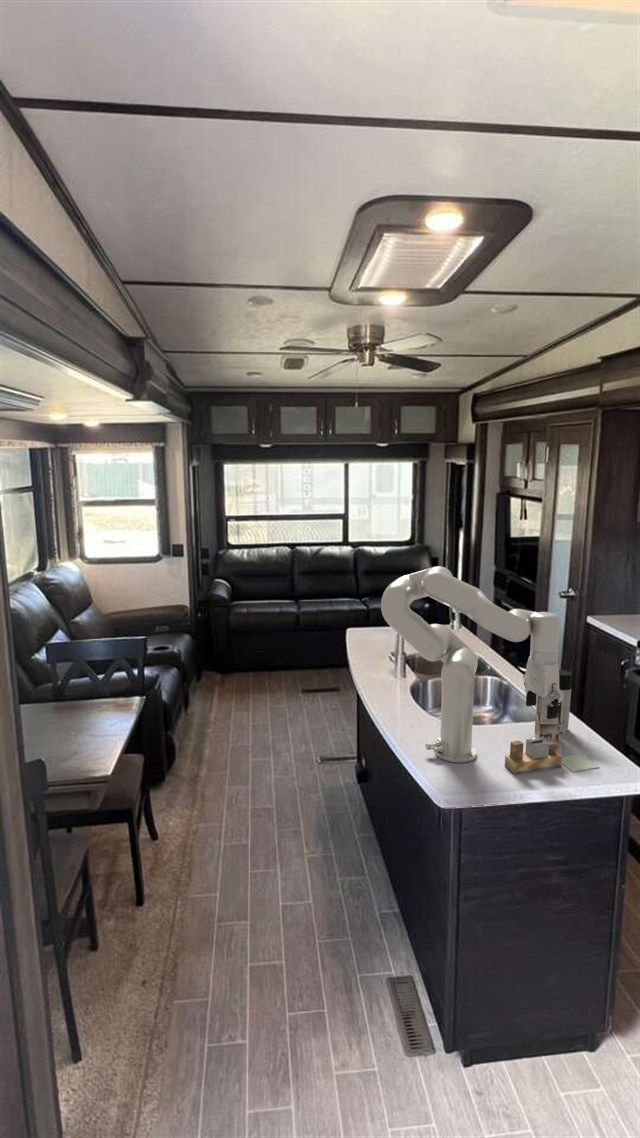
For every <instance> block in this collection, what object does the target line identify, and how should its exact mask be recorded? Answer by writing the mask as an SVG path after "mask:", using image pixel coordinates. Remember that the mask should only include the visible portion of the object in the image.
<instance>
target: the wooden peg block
mask: <svg viewBox="0 0 640 1138" xmlns="http://www.w3.org/2000/svg"><path fill="white" fill-rule="evenodd" d="M548 743H549V754H548V757H547V758H541V759H535V760H533V759H532V758H531V757H529V756H528V755H527V754H525V752H524V742H522V741H521V740H515V741H514V740H513V741H510V745H509V746H510V749H509V754H506V755H505V757H504V768H506V769H507V770H508V771H510V772H511V774H513V775H514V776H516V775H521V774H523V775H524V774H527V773H528V774H529V773H533V772H534V773H535V772H539V771H546V770H551V769H552V770H553V769H557V768H562V766H563V764H562V757H563V755H561V754H560V752H557V744H556V743H555V742H548Z"/></svg>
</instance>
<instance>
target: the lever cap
mask: <svg viewBox="0 0 640 1138" xmlns="http://www.w3.org/2000/svg"><path fill="white" fill-rule="evenodd" d="M525 740H526V741H525V752H524V753H525V754H527V755H528V756H529V757H531V758H532V759H533V760H535V759H541V758H547V757H548V754H549V743H548V742H547V741H546V740H544V739H543V738H542V737H539V738H536V737H533V738H526V739H525Z"/></svg>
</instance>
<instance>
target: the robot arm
mask: <svg viewBox="0 0 640 1138" xmlns="http://www.w3.org/2000/svg"><path fill="white" fill-rule="evenodd" d="M427 597H429V598H431V599H433V600H435V601H437V602H439V603H441V604H443V605H445V606H447V607H449V608H452V609H453V610H455V611H457V612H459V613H462V614H464V615H465V616H467V617H468V618H469V619H470V620H472V621H473V622H474V623H476V624H477V625H479V626H480V627H481V628H484V629H485V630H487V631H489V632H490V633H492V634H495V635H496V636H498V637H500V638H502V639H505V640H507V641H509V642H512V643H513V642H514V643H519V642H523V641H525V640H527V639H528V638H529V636H530V649H529V650H530V651H529V652H530V653H529V656H528V660H527V663H526V667H525V668H526V669H525V673H524V674H523V675H522V679H523V685H524V687H525V690H524V691H525V693H526V694H525V695H526V696H525V706H526V707H533V706H536V700H537V695H539V696H540V697H542V698H547V701H548V703H549V705H547V718H548V719H554V718H557V717H558V705H560V703H561V702H562V699H563V698H564V694H563V693H562V691H561V690H560V689H559V670H560V669H559V663H558V661H559V646H560V645H559V643H560V642H559V641H560V626H561V624H560V623H561V619H560V616H559V615H558V614H557V613H554V612H552V611H551V612H550V611H538V612H537V611H533V610H527V609H523V608H514V609H510V610H509V611H507V610H506V609H503V608H502V607H500V606H498V605H497V604H495V603H494V602H492V601H491V600H490V599H489V598H487V596H486V595H485V593H484V592H483V591H482V590H480V588H478V587H476V586H474V585H471V584H470V583H467V582H466V581H463V580H460V579H459V578H457V577H455V576H453V574H452V571H450V570H449V569H448V568H447V567H444V566H439V565H438V566H432V567H430V568H426V569H423V570H420V571H416V572H411V573H409V574H406V575H402V576H400V577H398V578H397V579H395V580H394V581H392V582H391V583H389V584H388V586H387V587H386V588H385V590H384V591H383V594H382V597H381V602H380V609H381V614H382V616H383V618H384V621H385V622H386V623H387V625H389V627H391V628H392V630H394V631H395V633H397V634H399V635H398V636H401V638H402V639H403V640H404V641H405V642H407V643H408V645H410V646H411V647H412V648H413V649H414V650H415V652H417V654H419V655H420V656H421V657H422V658H423V659H425V660H426V661H429V662H438V661H440V662H442V663H443V665H442V668H441V673H440V674H441V675H440V676H441V677H440V678H441V679H440V680H441V704H440V705H441V708H440V709H441V710H440V733H439V734H440V736H439V737H437V738H436V741H434V742H429V743H425V750H426V751H430V750H432V751H433V753H435V755H436V756H437V757H438V758H439V759H441V760H444V761H447V762H450V763H456V764H457V763H459V764H461V763H462V764H463V763H468V762H472V761H474V760H475V759H476V758H477V750H476V748H475V747H474V746H473V745H472V743H473V721H474V720H473V718H474V699H475V697H474V696H475V692H474V691H475V677H476V673H477V669H478V663H479V662H478V657H477V655H476V653H475V652H474V651H473V649H471V647H469V646H468V644H466V643H465V642H464V641H463V640H462V639H461V638H460V637H459V636H458V635H457V634H455V633H454V632H453V631H452V630H451V629H449V628H448V626H447V627H446V626H445V625H443V624H439V623H431V624H429V623H428V622H427V621H426V620H424V618H423V617H422V616H421V615H419V614H418V613H416V612H415V611H413V610H412V609H411V608H410V605H411V604H412V603H413V602H414V601H416V600H419V599H420V600H421V599H422V598H427ZM550 694H551V695H550ZM552 697H553V698H554V700H553V701H552V700H551V698H552Z"/></svg>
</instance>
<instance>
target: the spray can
mask: <svg viewBox="0 0 640 1138" xmlns="http://www.w3.org/2000/svg"><path fill="white" fill-rule="evenodd" d="M572 685H573V673H572V672H571V671H568V670H567V669H566V670H565V669H559V689H560V690H561V691H562V693H563V694H564V698H563V699H562V706H561V718H560V731H559V734H561V733H562V734H563V733H564V734H565V733H566V732H568V729H569V724H570V723H569V722H570V721H569V720H570V712H571V711H570V709H571V708H570V707H571V697H572V689H573V688H572Z"/></svg>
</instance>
